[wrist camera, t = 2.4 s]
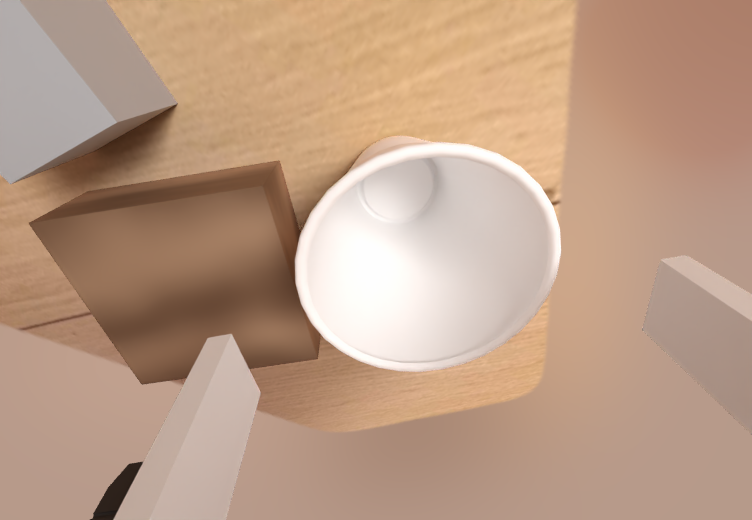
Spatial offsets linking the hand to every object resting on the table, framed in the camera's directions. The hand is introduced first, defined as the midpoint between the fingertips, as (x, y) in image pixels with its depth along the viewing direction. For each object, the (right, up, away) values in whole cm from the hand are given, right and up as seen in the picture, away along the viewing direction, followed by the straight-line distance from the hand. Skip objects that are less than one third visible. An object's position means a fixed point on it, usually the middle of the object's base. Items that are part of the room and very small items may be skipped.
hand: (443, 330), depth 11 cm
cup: (-1, +7, +12) cm, 14 cm away
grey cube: (-17, +12, +8) cm, 22 cm away
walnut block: (-13, +2, +14) cm, 19 cm away
